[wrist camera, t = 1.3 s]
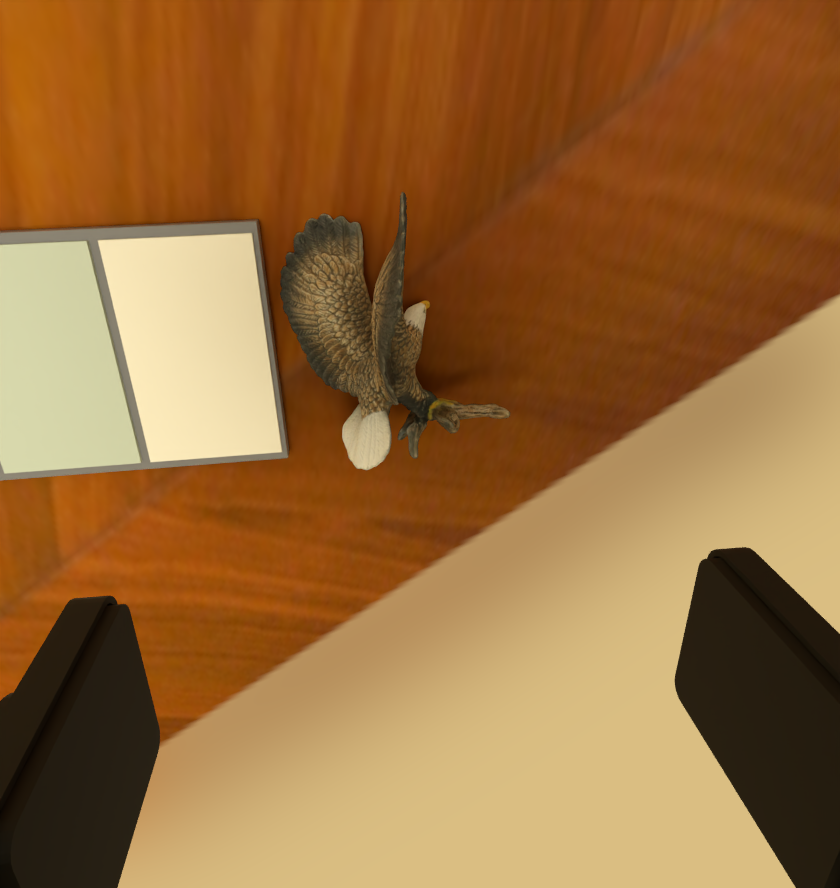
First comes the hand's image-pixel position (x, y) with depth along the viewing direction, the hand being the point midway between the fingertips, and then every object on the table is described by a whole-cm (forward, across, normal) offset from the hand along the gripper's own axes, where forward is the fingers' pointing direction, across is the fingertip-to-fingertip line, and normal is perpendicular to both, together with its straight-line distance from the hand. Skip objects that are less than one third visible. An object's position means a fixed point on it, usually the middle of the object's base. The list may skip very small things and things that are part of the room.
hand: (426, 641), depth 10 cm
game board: (+19, +13, 0) cm, 23 cm away
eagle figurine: (+19, 0, -1) cm, 19 cm away
